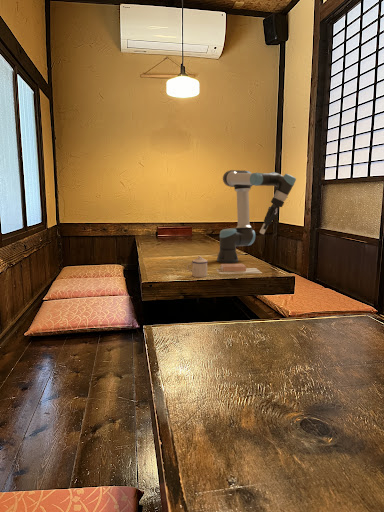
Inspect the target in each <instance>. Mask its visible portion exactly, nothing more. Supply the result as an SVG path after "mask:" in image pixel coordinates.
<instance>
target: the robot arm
mask: <svg viewBox="0 0 384 512" xmlns="http://www.w3.org/2000/svg"><path fill="white" fill-rule="evenodd" d="M222 181H223V183H224V185H226V186H227V187H230V188H234V191H235V192H236V209H237V211H236V213H237V226H236V227H235V228H234V227H233V228H232V227H230V228H223V229H222V230H220V232H219V250H218V251H219V252H218V254H217V258H216V262H217V263H218V262H219V263H221V264H236V263H238V262H239V257H238V253H237V247H247V246H252V244H254V242H255V240H256V232H255V230H254V229H253V227H252V225H251V224H250V222H251V221H250V193H249V192H250V191H251V189H252V187H253V186H255V187H257V186H260V187H261V186H267V187H276V190H275V193H274V195H273V197H272V199H271V200H270V203H271V206H268V209H267V211H266V213H265V214H266V215H265V217H264V219H263V224H262V226H261V228H260V230H259V233H260V234H261V235H265V233H266V231H267V229H268V227H269V226H271V224H272V223H273V221H274V220H275V218H276V217H277V215H278V214H279V208H283V206H284V204H285V201H286V200H287V199H288V197H289V194H290V192H291V190H292V189H293V187H294V185H295V183H296V181H297V178H296V177H295V176H293V175H291V174H288V173H284V175H282V174H280V173H278V172H276V171H275V172H274V171H271V172H270V173H267V172H251V171H249V170H239V169H238V170H237V169H236V170H233V169H231V170H227V171H225V173H224V174H223V176H222Z"/></svg>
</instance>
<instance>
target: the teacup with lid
mask: <svg viewBox="0 0 384 512" xmlns="http://www.w3.org/2000/svg"><path fill="white" fill-rule="evenodd" d="M191 262H192V263H191ZM191 262H190V263H188V264H187V266H186V268H187V270H188V271H189V272H190V273H191V272H192V277H195V278H206V277H207V276H208V262H209V261H208V260H207V259H205V258H203V257H202V256H201V255H199V256H198V257H196V258H195V259H192V261H191ZM191 265H192V269H190V268H189V266H191Z"/></svg>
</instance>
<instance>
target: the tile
mask: <svg viewBox="0 0 384 512" xmlns="http://www.w3.org/2000/svg"><path fill="white" fill-rule="evenodd" d="M246 268H247V266H246V265H245V264H244V263H220V269H222V271H223V272H243V271H246Z"/></svg>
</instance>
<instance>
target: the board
mask: <svg viewBox="0 0 384 512" xmlns="http://www.w3.org/2000/svg"><path fill="white" fill-rule="evenodd" d="M216 272H217V273H218V274H221V275H222V274H223V275H225V274H226V275H228V274H229V275H230V274H231V275H232V274H263V272H262V271H260V270H259V269H258V268H256V267H246V271H243V272H223V271H222V269H221V268H216Z"/></svg>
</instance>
